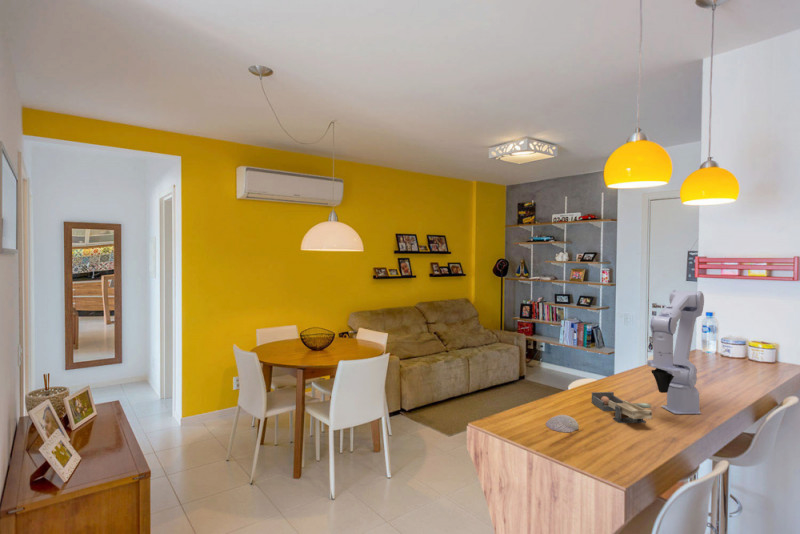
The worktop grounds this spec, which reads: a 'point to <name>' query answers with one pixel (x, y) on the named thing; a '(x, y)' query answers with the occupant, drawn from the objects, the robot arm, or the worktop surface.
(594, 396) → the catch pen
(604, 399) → the ball
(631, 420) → the pivot stand
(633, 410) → the lever
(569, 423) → the seashell
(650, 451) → the worktop surface
